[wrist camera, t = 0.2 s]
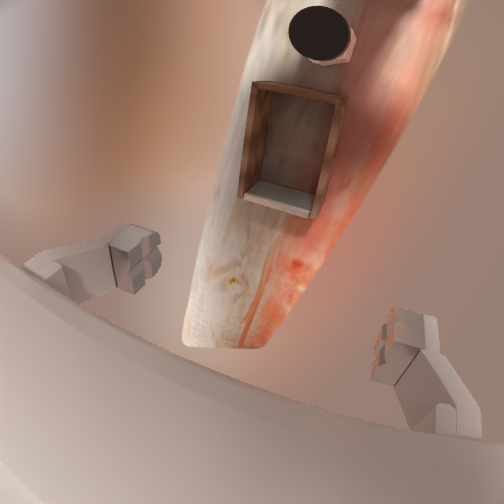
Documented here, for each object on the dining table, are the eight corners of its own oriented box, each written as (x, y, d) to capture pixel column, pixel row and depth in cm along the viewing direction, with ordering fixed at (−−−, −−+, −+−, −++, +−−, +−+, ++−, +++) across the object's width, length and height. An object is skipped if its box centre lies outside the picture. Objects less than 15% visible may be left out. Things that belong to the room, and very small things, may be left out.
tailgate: (260, 179, 60) (244, 193, 54) (318, 196, 57) (309, 212, 51) (259, 184, 61) (243, 199, 54) (316, 201, 58) (307, 218, 52)
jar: (367, 48, 41) (365, 38, 31) (331, 76, 46) (319, 74, 36) (329, 10, 39) (316, -8, 30) (295, 39, 44) (273, 29, 35)
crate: (268, 81, 50) (252, 81, 43) (348, 97, 47) (343, 100, 40) (253, 182, 61) (237, 196, 55) (323, 202, 58) (315, 220, 51)
